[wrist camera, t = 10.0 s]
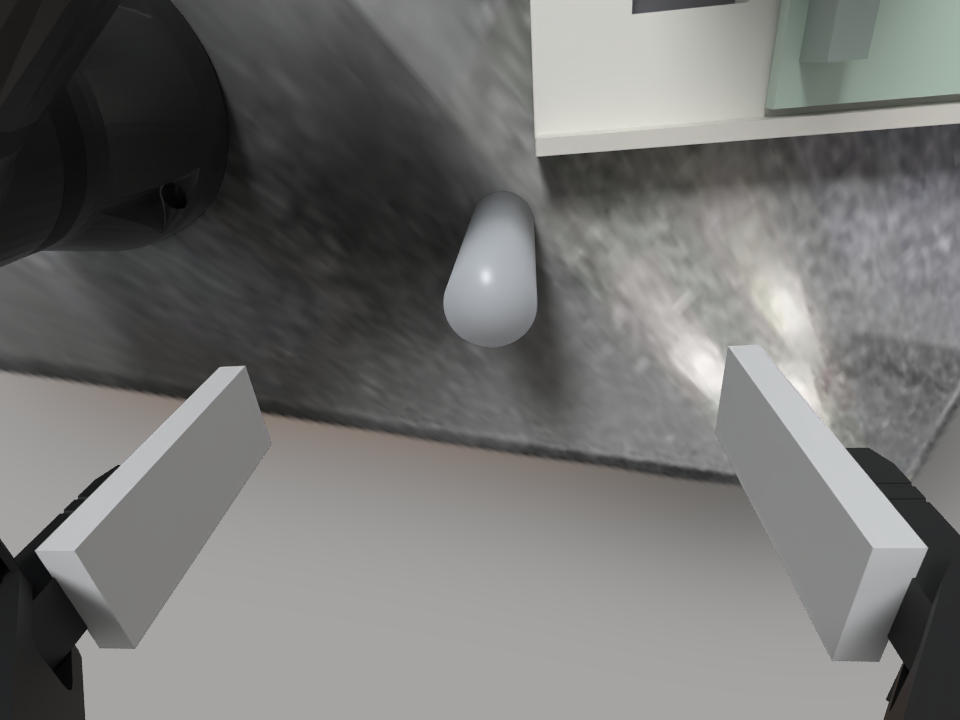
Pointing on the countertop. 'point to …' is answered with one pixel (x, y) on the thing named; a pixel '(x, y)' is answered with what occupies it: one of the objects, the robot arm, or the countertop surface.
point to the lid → (864, 51)
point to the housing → (679, 78)
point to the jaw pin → (494, 274)
